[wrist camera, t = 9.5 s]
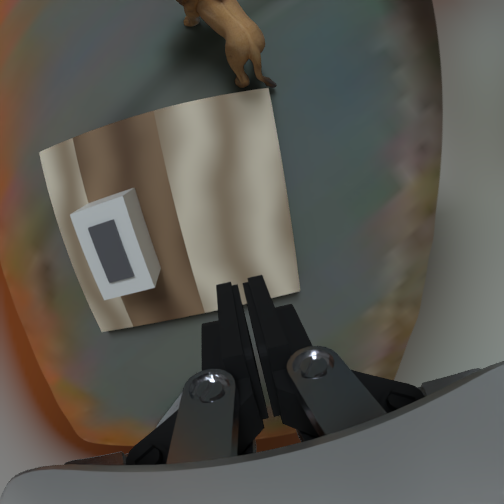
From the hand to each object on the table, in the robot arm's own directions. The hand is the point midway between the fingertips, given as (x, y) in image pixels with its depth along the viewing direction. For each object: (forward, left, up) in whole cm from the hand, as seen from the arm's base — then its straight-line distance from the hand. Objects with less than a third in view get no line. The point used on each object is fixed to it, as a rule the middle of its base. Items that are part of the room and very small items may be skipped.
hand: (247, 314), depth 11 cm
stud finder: (+10, 0, -17) cm, 20 cm away
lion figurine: (-2, -16, -19) cm, 25 cm away
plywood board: (+5, 0, -19) cm, 19 cm away
